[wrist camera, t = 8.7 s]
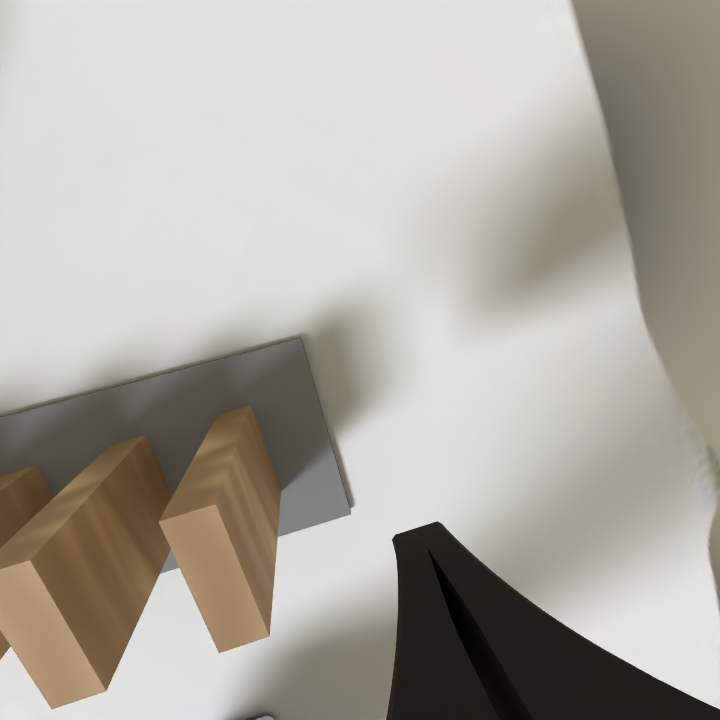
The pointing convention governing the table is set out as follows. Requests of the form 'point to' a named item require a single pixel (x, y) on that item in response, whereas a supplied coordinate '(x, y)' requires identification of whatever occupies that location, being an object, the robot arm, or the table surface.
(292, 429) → the slate mat
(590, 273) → the table surface
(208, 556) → the domino
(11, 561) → the domino
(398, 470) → the table surface
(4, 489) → the domino
